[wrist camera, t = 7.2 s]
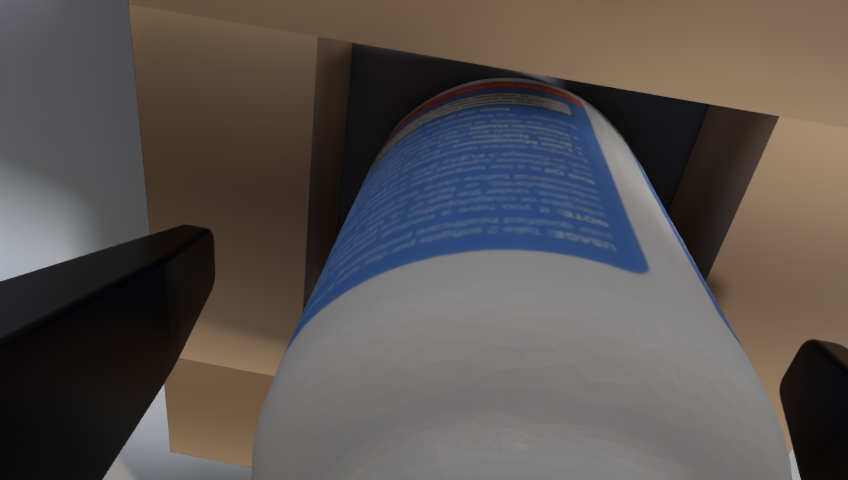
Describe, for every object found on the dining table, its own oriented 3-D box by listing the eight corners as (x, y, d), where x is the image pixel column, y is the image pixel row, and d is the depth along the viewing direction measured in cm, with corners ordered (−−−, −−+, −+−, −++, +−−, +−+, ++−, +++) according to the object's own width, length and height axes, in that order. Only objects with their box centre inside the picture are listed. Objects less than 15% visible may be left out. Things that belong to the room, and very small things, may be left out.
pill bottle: (323, 226, 13) (-27, 844, 4) (473, 9, 10) (345, 453, 2) (524, 356, 14) (559, 1056, 5) (704, 185, 11) (1285, 978, 3)
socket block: (689, 464, 15) (721, 559, 13) (217, 374, 15) (170, 451, 13) (974, -78, 9) (1126, -75, 7) (197, -204, 9) (106, -238, 7)
